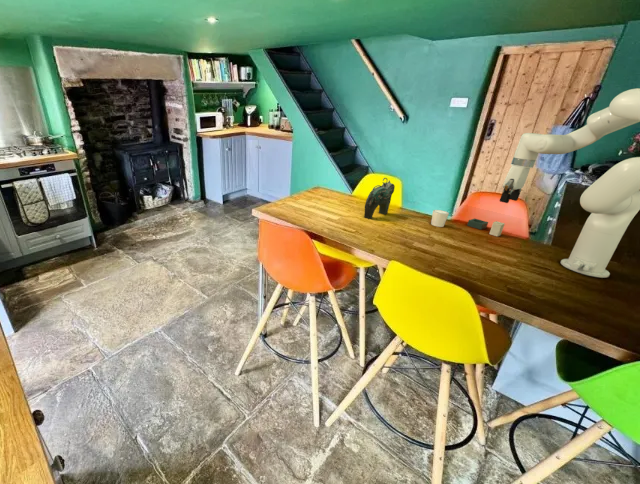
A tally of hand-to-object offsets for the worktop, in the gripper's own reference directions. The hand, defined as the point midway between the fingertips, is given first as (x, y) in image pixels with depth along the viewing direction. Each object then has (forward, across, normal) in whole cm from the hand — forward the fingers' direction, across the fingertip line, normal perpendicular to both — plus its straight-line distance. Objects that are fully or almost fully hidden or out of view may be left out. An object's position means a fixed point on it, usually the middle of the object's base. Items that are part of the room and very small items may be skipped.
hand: (508, 201), depth 135 cm
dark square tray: (+17, -4, -10) cm, 19 cm away
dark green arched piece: (+17, +31, -43) cm, 56 cm away
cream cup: (+17, +14, -20) cm, 30 cm away
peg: (+16, +1, 0) cm, 17 cm away
